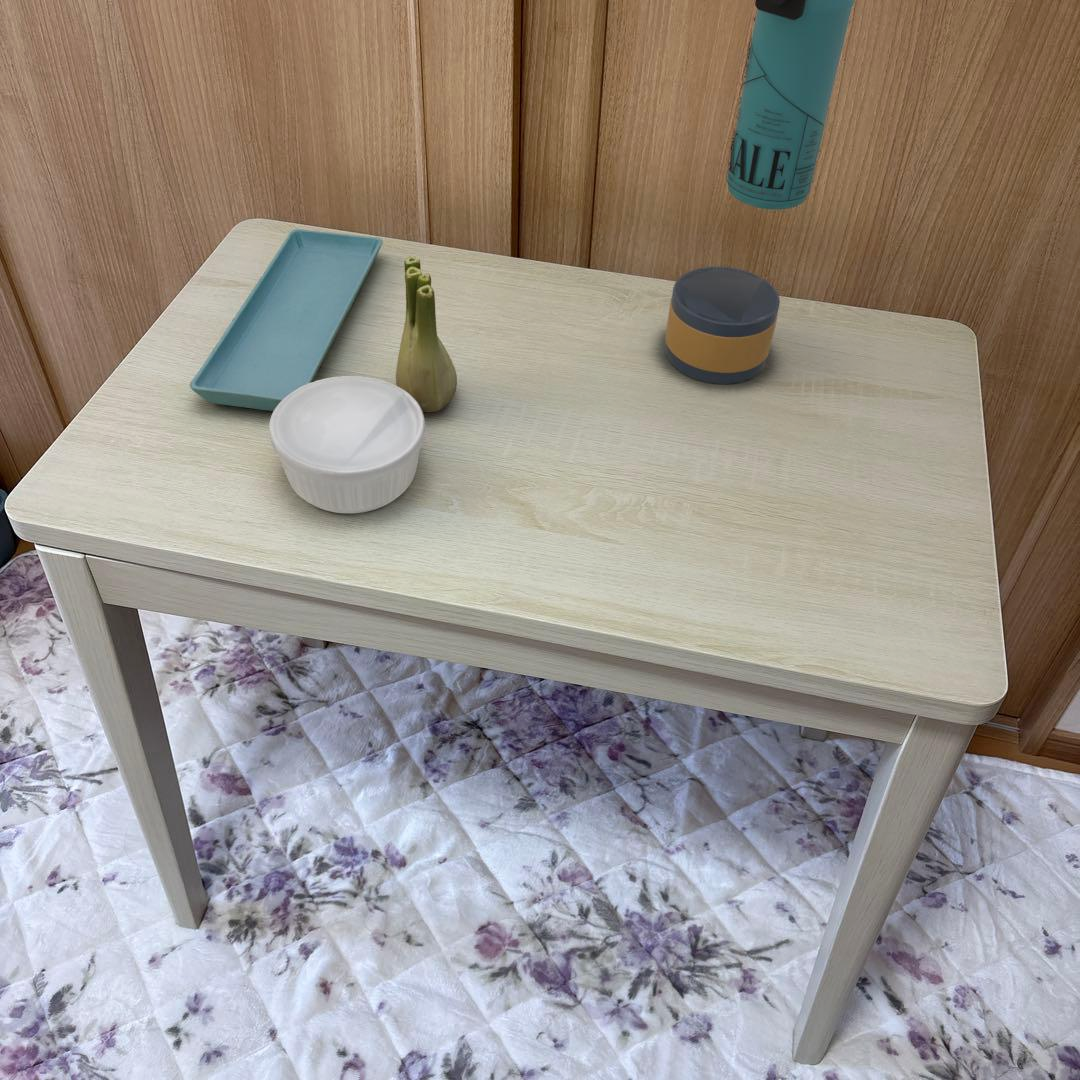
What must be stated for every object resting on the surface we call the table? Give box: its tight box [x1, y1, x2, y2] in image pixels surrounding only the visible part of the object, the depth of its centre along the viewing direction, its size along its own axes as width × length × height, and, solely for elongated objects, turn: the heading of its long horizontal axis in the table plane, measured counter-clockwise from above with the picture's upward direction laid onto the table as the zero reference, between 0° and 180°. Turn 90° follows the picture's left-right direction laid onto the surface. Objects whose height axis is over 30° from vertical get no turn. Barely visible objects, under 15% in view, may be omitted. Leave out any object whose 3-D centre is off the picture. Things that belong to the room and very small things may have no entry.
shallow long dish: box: [189, 228, 384, 412], centre depth 93 cm, size 26×9×2 cm, turn 171°
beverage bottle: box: [725, 0, 856, 211], centre depth 73 cm, size 6×7×20 cm
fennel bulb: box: [395, 255, 458, 413], centre depth 83 cm, size 6×5×12 cm
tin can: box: [664, 265, 781, 385], centre depth 91 cm, size 9×9×6 cm
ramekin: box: [268, 375, 426, 514], centre depth 78 cm, size 11×11×5 cm
